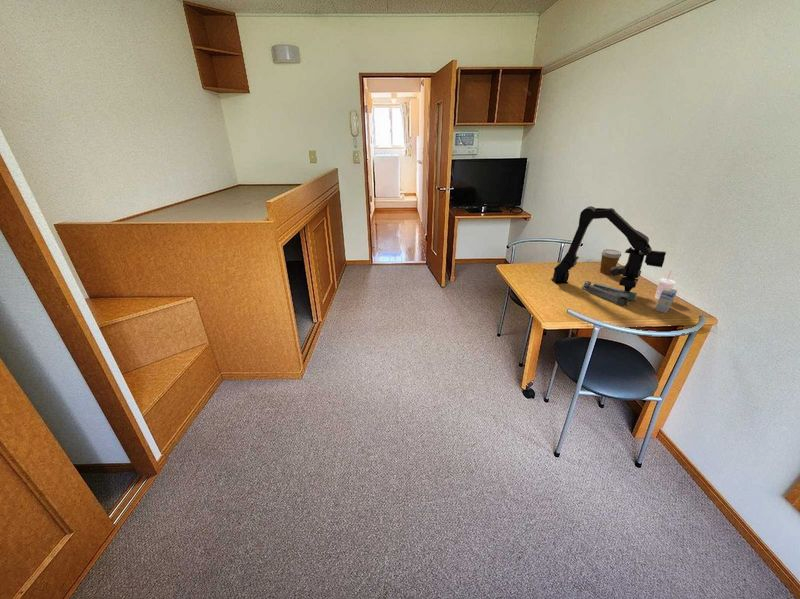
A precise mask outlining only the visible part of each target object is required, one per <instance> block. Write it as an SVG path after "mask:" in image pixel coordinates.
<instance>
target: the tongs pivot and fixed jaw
mask: <svg viewBox="0 0 800 599" xmlns="http://www.w3.org/2000/svg"><path fill="white" fill-rule="evenodd" d="M581 289H582V290H584V291H587V293H590V294H593V295H595V296H597V297H600V298H601V299H604V300H606V301H609V302H611V303H614V304H616V305H618V306H620V307H625V306H627V304H628V301H629V299H627V298H625V297H620V296H618V295H615V294H613V293H610V292H608V291H605V290H603V289H600V288H598V287H595V286H593V284H592V282H591V281H589V280H586V281H584V284H583V285H582V286H581Z"/></svg>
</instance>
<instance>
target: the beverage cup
mask: <svg viewBox="0 0 800 599" xmlns="http://www.w3.org/2000/svg"><path fill="white" fill-rule="evenodd" d="M668 273H669V274H668V275H667V278H665V277H664V278H662V277H661V278H659V279H658V285H657V287H656V292H655V296H654V298H655V299H656V300H659V298H660V295H661V293H662V292H663V290H664V289H665V288H670V289H673V287H674V285H675V284H676V281H675V280H673V279H670V276H671V273H672V270H670V271H669V272H668Z"/></svg>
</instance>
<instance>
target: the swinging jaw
mask: <svg viewBox="0 0 800 599" xmlns="http://www.w3.org/2000/svg"><path fill="white" fill-rule="evenodd" d="M592 285H593V286H595V287H598V288H600V289H603V290H605V291H608V292H610V293H613V294H615V295H618V296H620V297H625V298H627V299H628V301H635V300H636V299H637V295H638V293H637V292H634V291H633V292H632V291H626V290H625V289H623V288H622V289H621V288H618V287H613V286H610V285H606V284H602V283H598V282H594V283H593V284H592Z"/></svg>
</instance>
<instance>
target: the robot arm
mask: <svg viewBox="0 0 800 599" xmlns="http://www.w3.org/2000/svg"><path fill="white" fill-rule="evenodd" d="M599 219H607V220H609V222H610V223H611V224H613V225H614V226H615V228H616V229H618V231H620V232H621V233H622V234H623V235H624V236H625V237H626V239H627V241H628V244H630V246H629V248H627V249H625V251H624V253H625V254H628V258H627V261H626V262H627V263H625V265H618V266H617V265H616V267H612V268H611V272H610V273H611V274H610V275H611V276H612V277H615V276H620V275H622V278H620V280H619V283H618V286H622V287H624V290H626V291H629V292H631V290H633V289H634V288H636V286H637V283H638V281H639V277H641V274H642V270H641V269H642V266H643V262H644V263H645V264H646V266H650V267H655V268H656V267H657V268H662V267H663V265H664V263H665V257H666V254H667V252H666V251H663V250H662V251H661V250H660V251H658V250H653V249H652V247H651V246H650V243H649V242H650V238H649V236H647V235H646V234H644V233H643V232H641V231H639V230H637V229H635V228H634V227H633V226H631V225H630V224H629V223H628V222H627V221H626V220H625V219H624V218H623V217H622V216H621V215H620V214H619V213H618V212H617V211H616V210H615V208H613V207H612V208H611V207H610V208H603V207H595V206H587V207H585V208H584V209H582V210H581V212H580V214H579V219H578V226H577V229H576V232H574V233H575V234H574V236H573V239H572V241H571V243H570V245H569V248H568V251H567V252H566V253H565V255H564V257H563V258H562V260H561V261H560V263H558V264H557V265H556V266H555V267H554V271H553V276H552V277H551V280H552V282H554V283H555V284H557V285H558V284H559V285H561V284H563V285H564V284H569V282H568V281H569V278H570V270H571V269H572V268H574V267H575V266H576V265H577V262H578V260H579V258H580V257H579V256H578V255H577V253H578V251H579V248H580V246H581V244H582V241H583V239H584V236H585V234H586V232H587V230H588V228H589V227H590V225H591V223H592V222H593V220H599ZM644 259H645V260H644Z"/></svg>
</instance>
